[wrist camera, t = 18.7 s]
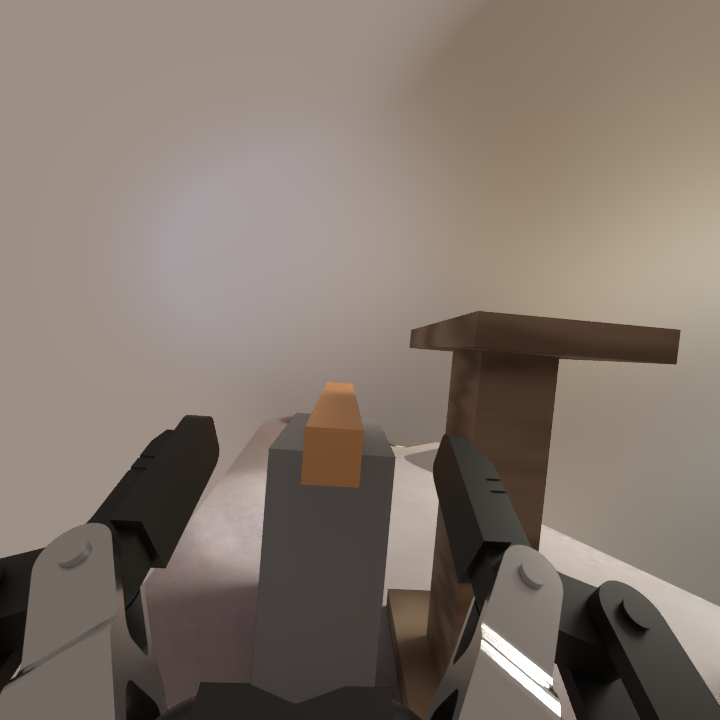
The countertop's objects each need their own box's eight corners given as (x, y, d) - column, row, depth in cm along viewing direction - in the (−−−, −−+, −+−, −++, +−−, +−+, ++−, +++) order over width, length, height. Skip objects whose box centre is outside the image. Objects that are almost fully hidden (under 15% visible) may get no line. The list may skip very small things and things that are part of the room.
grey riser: (372, 708, 25) (395, 456, 24) (249, 705, 24) (269, 448, 23) (363, 584, 38) (377, 418, 37) (283, 580, 37) (296, 413, 36)
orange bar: (359, 487, 18) (364, 430, 18) (300, 484, 18) (305, 426, 18) (350, 408, 42) (352, 383, 42) (325, 406, 42) (327, 381, 42)
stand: (617, 850, 18) (680, 329, 17) (425, 851, 18) (478, 311, 17) (487, 609, 35) (514, 339, 34) (386, 605, 35) (411, 330, 34)
